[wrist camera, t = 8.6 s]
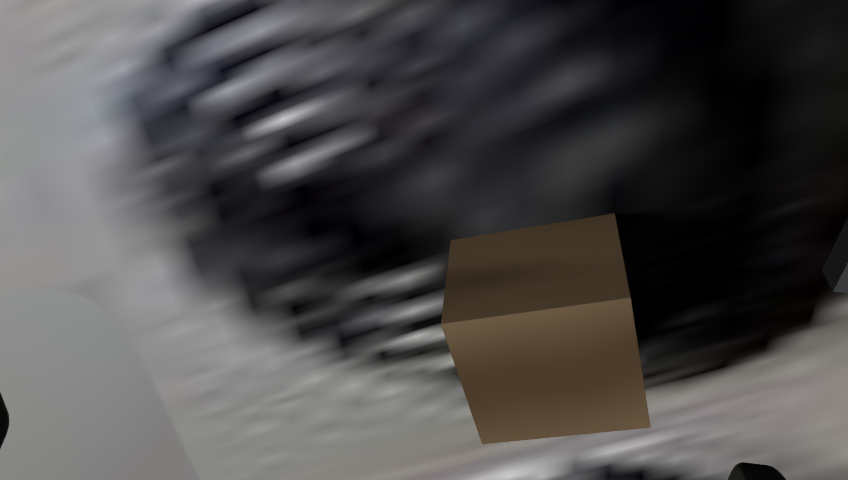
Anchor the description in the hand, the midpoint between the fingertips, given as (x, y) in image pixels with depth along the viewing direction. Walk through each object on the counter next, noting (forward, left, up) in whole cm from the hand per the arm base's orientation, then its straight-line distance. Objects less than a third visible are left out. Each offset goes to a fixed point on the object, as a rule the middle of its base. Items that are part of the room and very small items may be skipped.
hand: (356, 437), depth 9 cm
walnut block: (-8, -4, -13) cm, 16 cm away
